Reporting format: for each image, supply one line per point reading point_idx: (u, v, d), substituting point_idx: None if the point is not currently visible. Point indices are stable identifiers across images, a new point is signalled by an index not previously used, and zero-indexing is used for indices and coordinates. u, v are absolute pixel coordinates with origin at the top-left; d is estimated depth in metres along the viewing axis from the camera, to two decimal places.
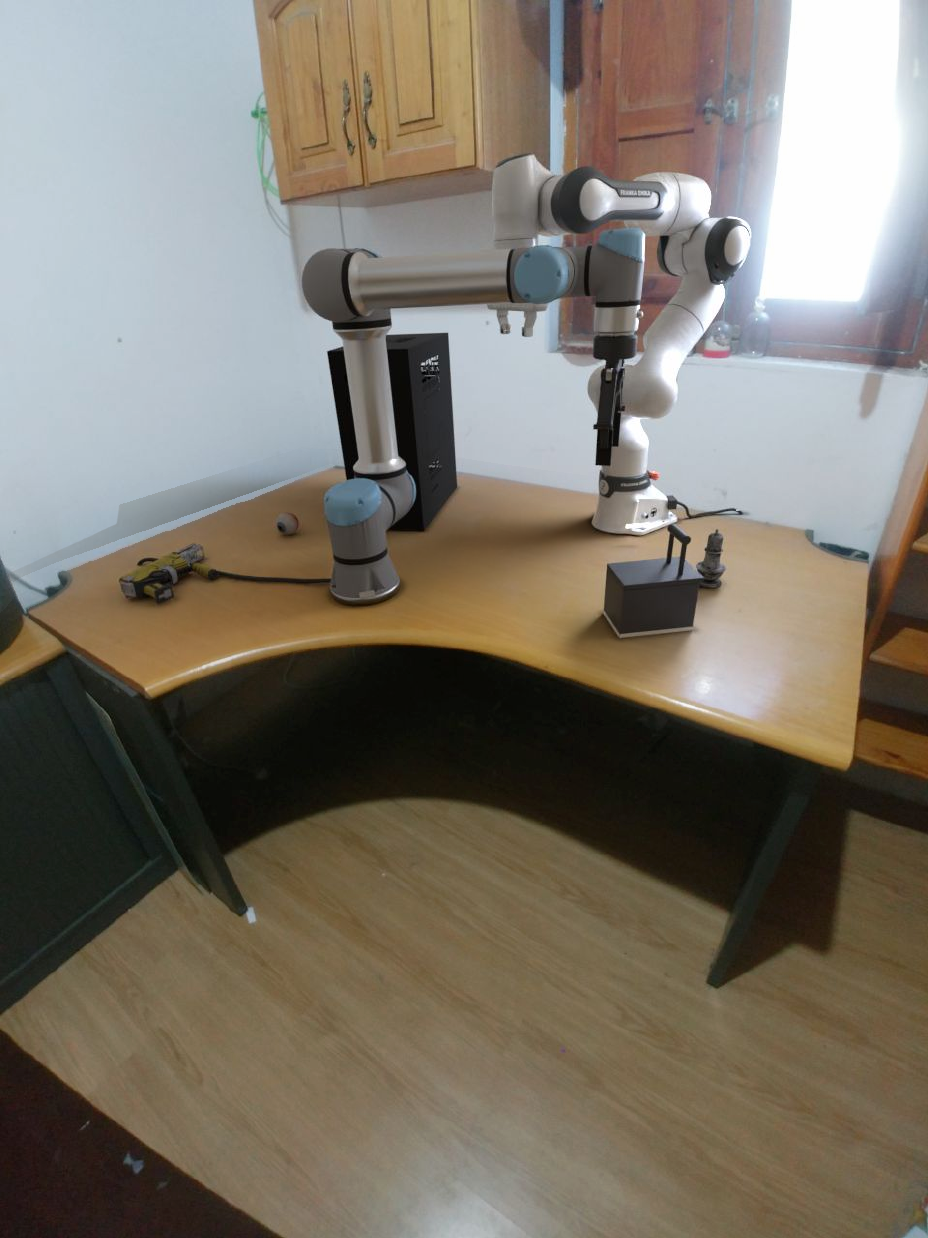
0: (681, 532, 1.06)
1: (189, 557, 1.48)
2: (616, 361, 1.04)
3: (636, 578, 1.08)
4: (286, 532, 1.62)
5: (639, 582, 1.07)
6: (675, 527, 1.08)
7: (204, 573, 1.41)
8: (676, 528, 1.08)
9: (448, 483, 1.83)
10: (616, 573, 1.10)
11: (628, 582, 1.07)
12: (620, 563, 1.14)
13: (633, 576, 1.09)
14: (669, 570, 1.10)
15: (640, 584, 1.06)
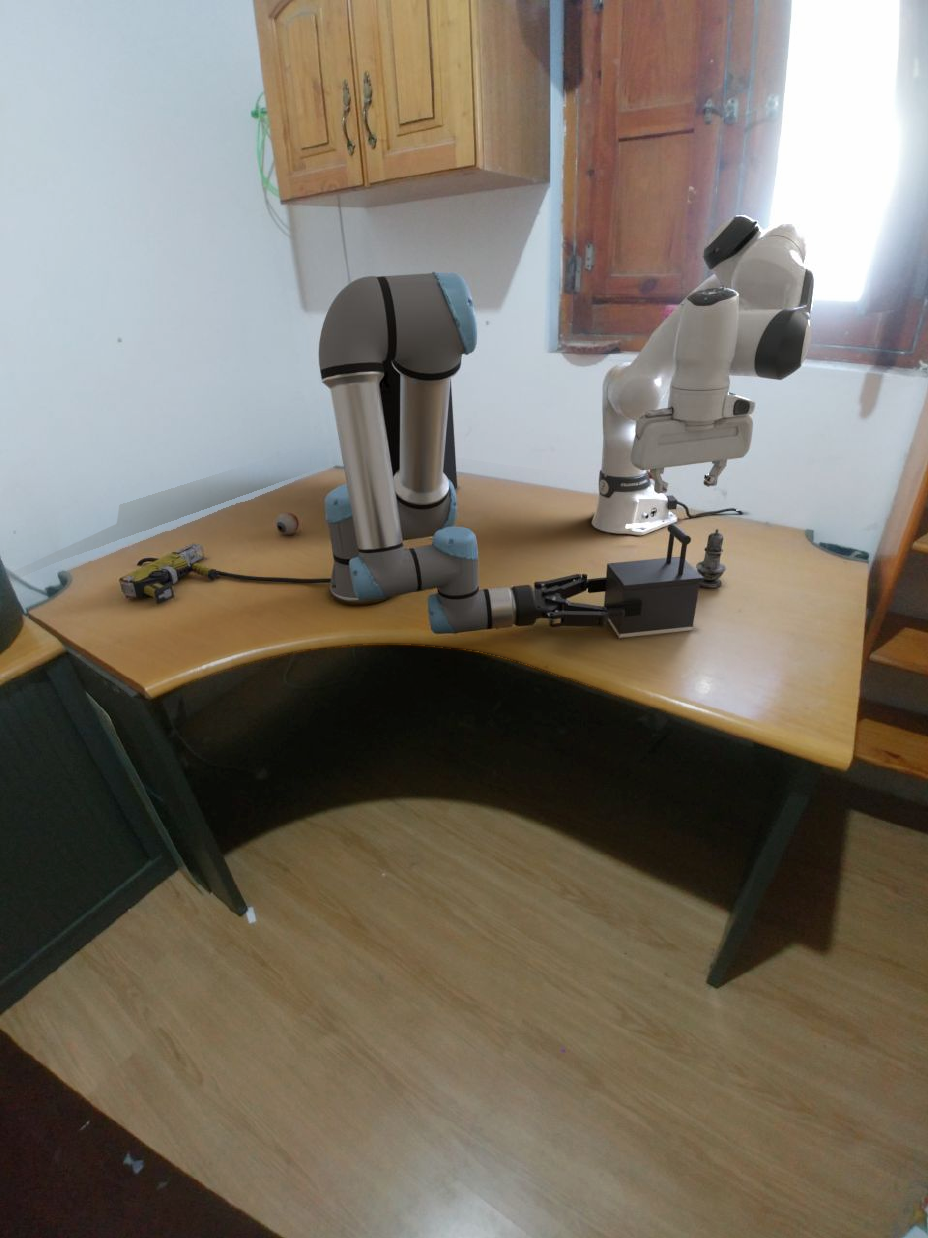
0: (681, 532, 1.06)
1: (189, 557, 1.48)
2: None
3: (636, 578, 1.08)
4: (286, 532, 1.62)
5: (639, 581, 1.07)
6: (675, 527, 1.08)
7: (204, 573, 1.41)
8: (676, 528, 1.08)
9: None
10: (616, 573, 1.10)
11: (628, 582, 1.07)
12: (620, 563, 1.14)
13: (633, 576, 1.09)
14: (669, 570, 1.10)
15: (640, 584, 1.06)
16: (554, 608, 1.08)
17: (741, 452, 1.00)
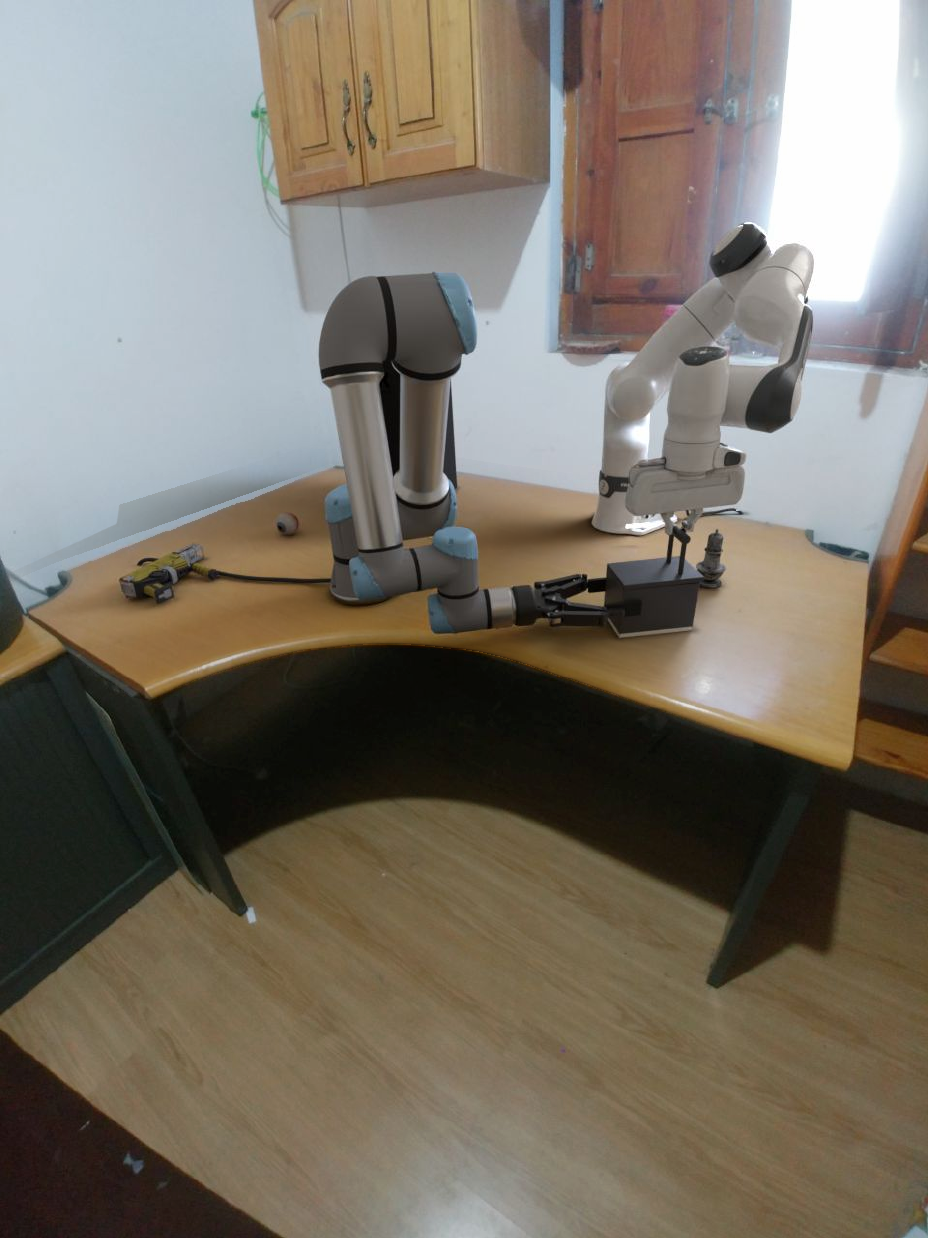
0: (681, 531, 1.06)
1: (189, 557, 1.48)
2: None
3: (636, 578, 1.08)
4: (286, 532, 1.62)
5: (639, 581, 1.07)
6: None
7: (204, 573, 1.41)
8: None
9: None
10: (616, 573, 1.10)
11: (628, 582, 1.07)
12: (620, 563, 1.14)
13: (633, 576, 1.09)
14: (669, 570, 1.10)
15: (640, 584, 1.06)
16: (554, 608, 1.08)
17: (733, 499, 1.04)
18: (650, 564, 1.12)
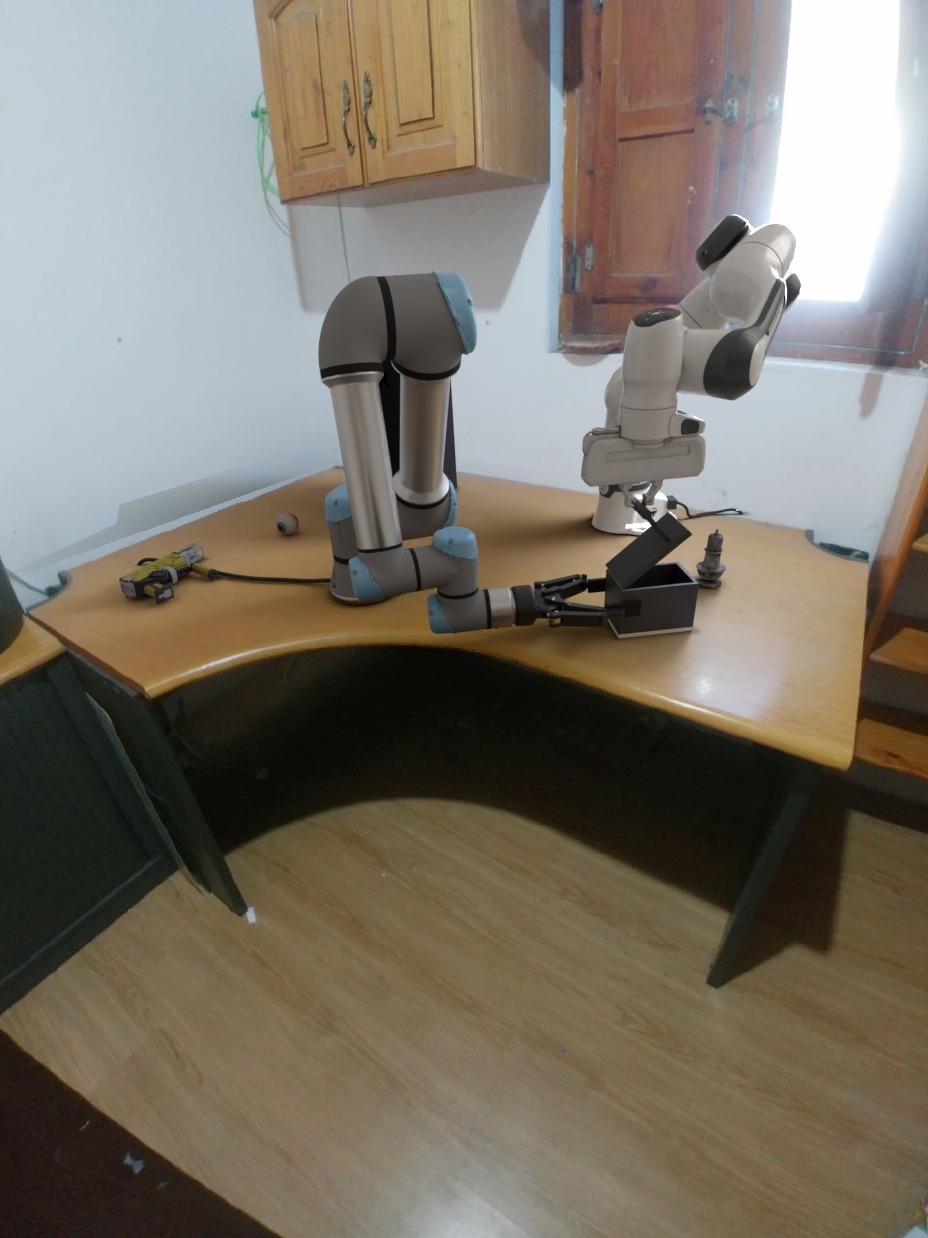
0: (639, 508, 1.02)
1: (189, 557, 1.48)
2: None
3: (630, 570, 1.07)
4: (286, 532, 1.62)
5: (633, 573, 1.06)
6: None
7: (204, 573, 1.41)
8: None
9: None
10: (613, 573, 1.10)
11: (624, 580, 1.06)
12: (615, 557, 1.13)
13: (627, 569, 1.08)
14: (658, 540, 1.06)
15: (634, 576, 1.05)
16: (554, 608, 1.08)
17: (695, 471, 1.00)
18: (641, 542, 1.10)
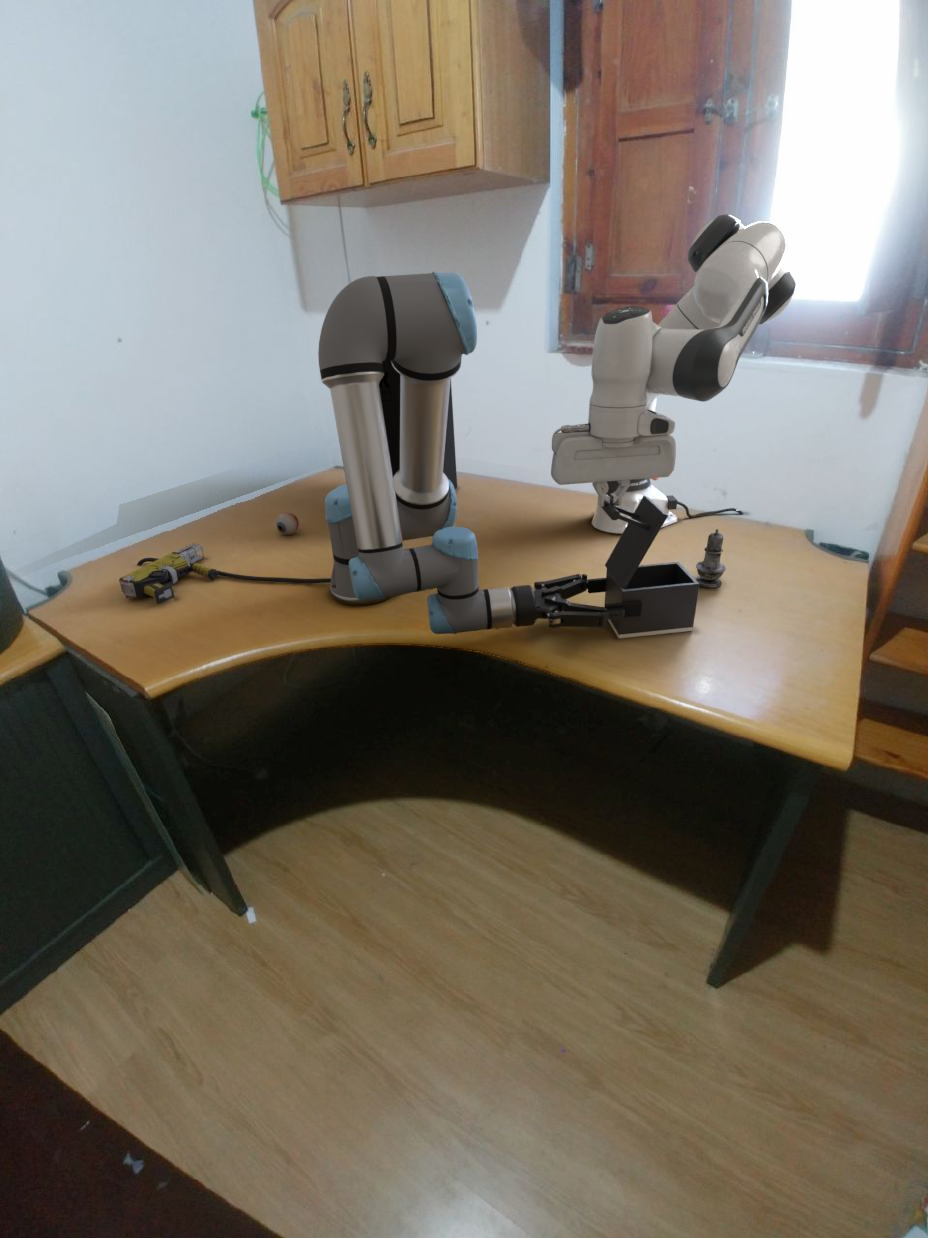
0: (607, 511, 1.02)
1: (189, 557, 1.48)
2: None
3: (624, 567, 1.06)
4: (286, 532, 1.62)
5: (627, 571, 1.05)
6: None
7: (204, 573, 1.41)
8: (603, 507, 1.04)
9: None
10: (612, 574, 1.10)
11: (621, 580, 1.06)
12: (611, 555, 1.12)
13: (622, 566, 1.07)
14: (641, 529, 1.05)
15: (629, 573, 1.05)
16: (554, 608, 1.08)
17: (665, 471, 0.99)
18: (628, 535, 1.09)
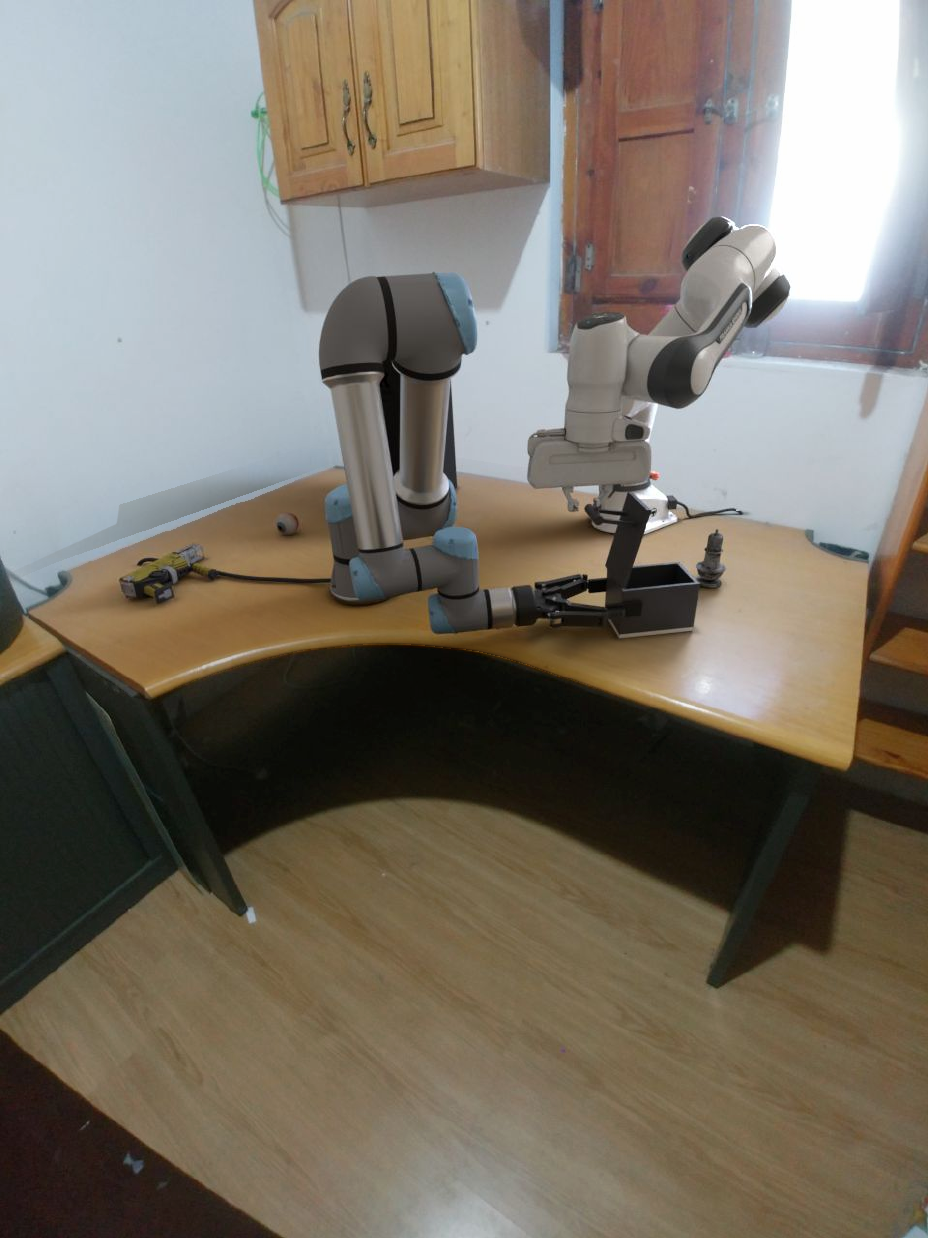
0: (591, 517, 1.02)
1: (189, 557, 1.48)
2: None
3: (621, 567, 1.06)
4: (286, 532, 1.62)
5: (624, 570, 1.05)
6: (587, 512, 1.05)
7: (204, 573, 1.41)
8: (587, 513, 1.04)
9: None
10: (612, 574, 1.10)
11: (620, 580, 1.06)
12: (609, 555, 1.12)
13: (619, 566, 1.07)
14: (630, 527, 1.04)
15: (626, 573, 1.05)
16: (554, 608, 1.08)
17: (641, 477, 0.99)
18: (620, 533, 1.08)
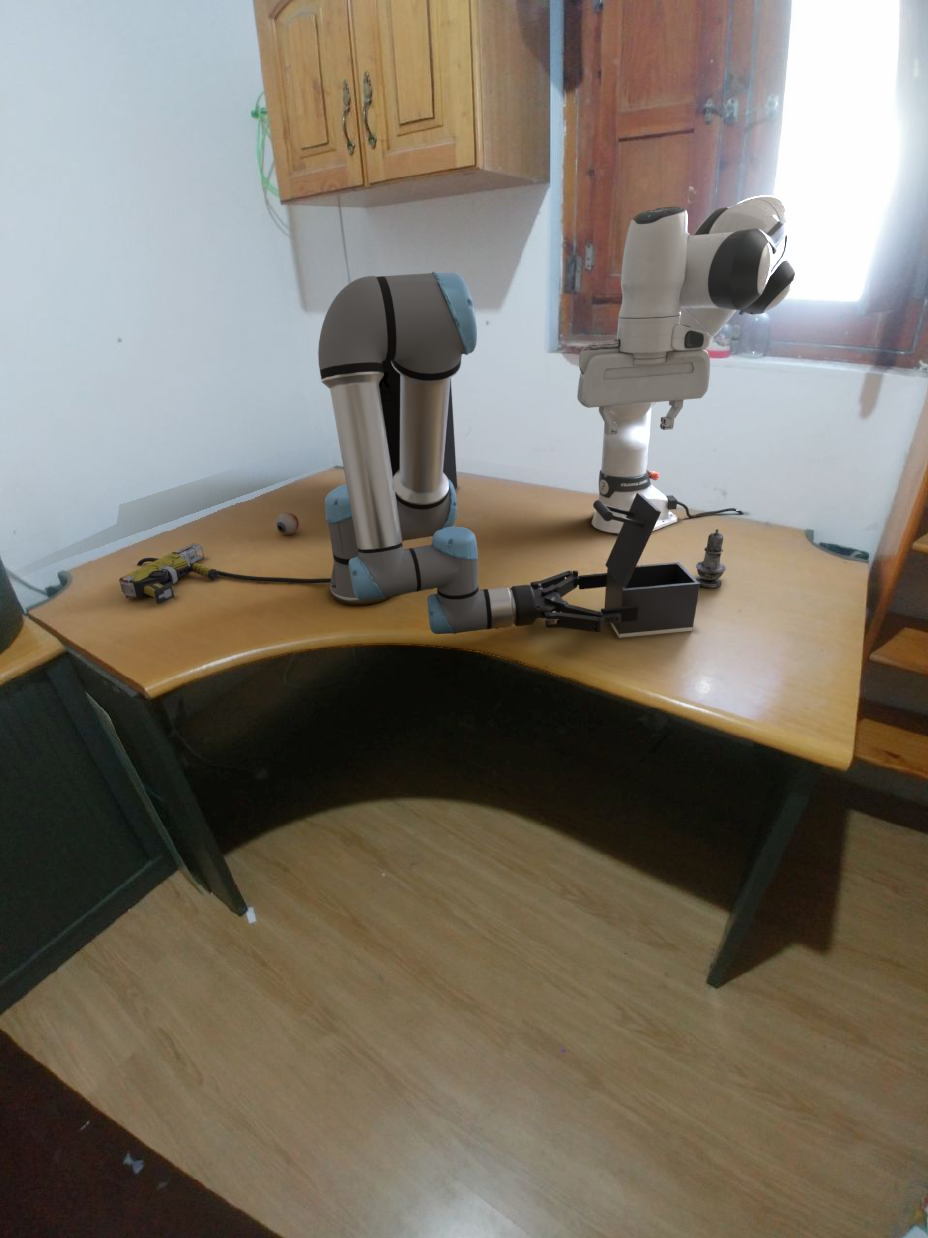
0: (600, 512, 1.02)
1: (189, 557, 1.48)
2: None
3: (624, 566, 1.07)
4: (286, 532, 1.62)
5: (626, 569, 1.05)
6: (596, 508, 1.05)
7: (204, 573, 1.41)
8: (597, 509, 1.04)
9: None
10: (613, 573, 1.10)
11: (621, 579, 1.06)
12: (611, 554, 1.13)
13: (621, 565, 1.07)
14: (636, 527, 1.05)
15: (628, 572, 1.05)
16: (554, 608, 1.08)
17: (698, 392, 0.94)
18: (625, 533, 1.09)
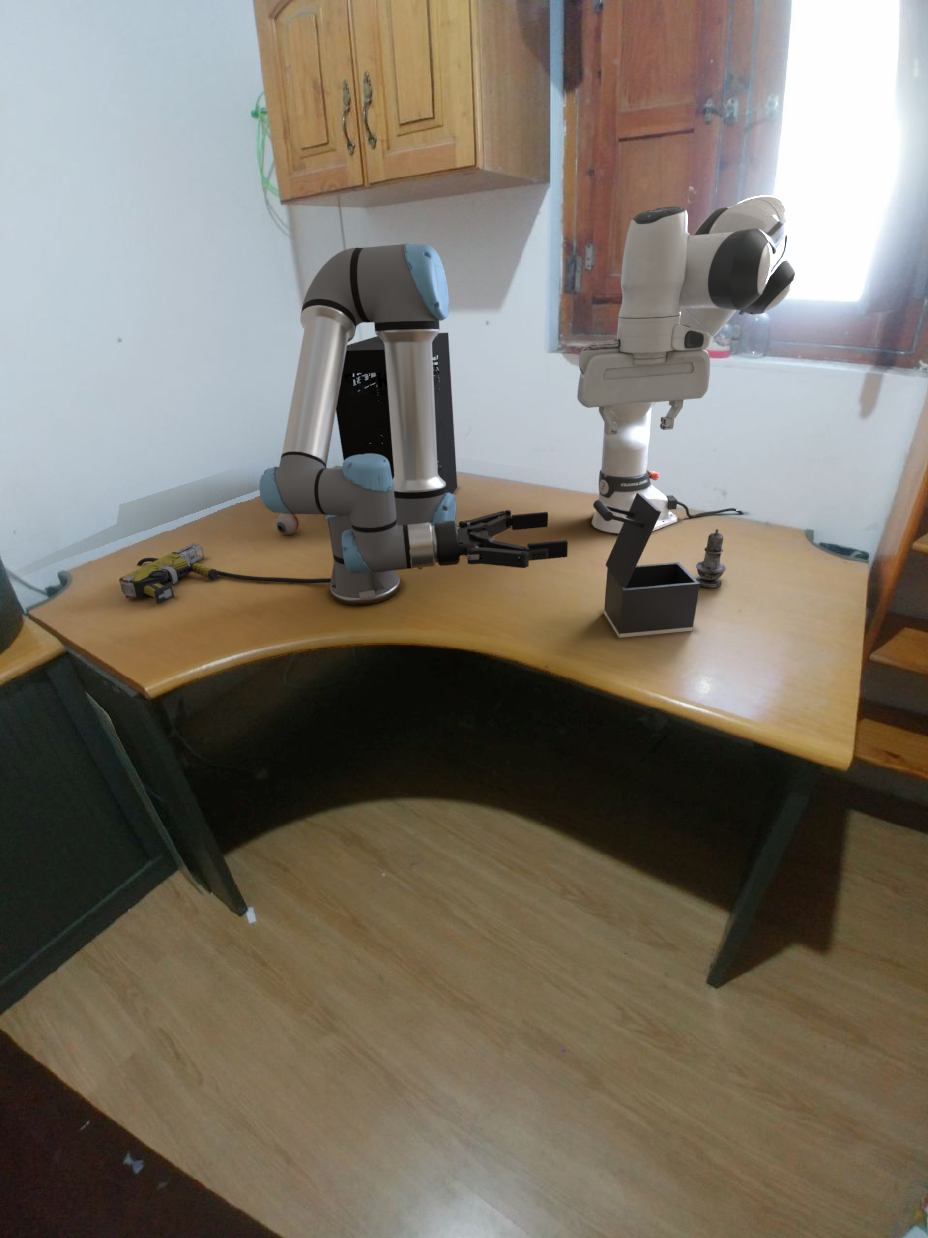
0: (600, 512, 1.02)
1: (189, 557, 1.48)
2: None
3: (624, 566, 1.07)
4: (286, 532, 1.62)
5: (626, 569, 1.05)
6: (596, 508, 1.05)
7: (204, 573, 1.41)
8: (597, 509, 1.04)
9: (448, 483, 1.83)
10: (613, 573, 1.10)
11: (621, 579, 1.06)
12: (611, 554, 1.13)
13: (621, 565, 1.07)
14: (636, 527, 1.05)
15: (628, 572, 1.05)
16: (478, 544, 1.00)
17: (698, 392, 0.94)
18: (625, 533, 1.09)
